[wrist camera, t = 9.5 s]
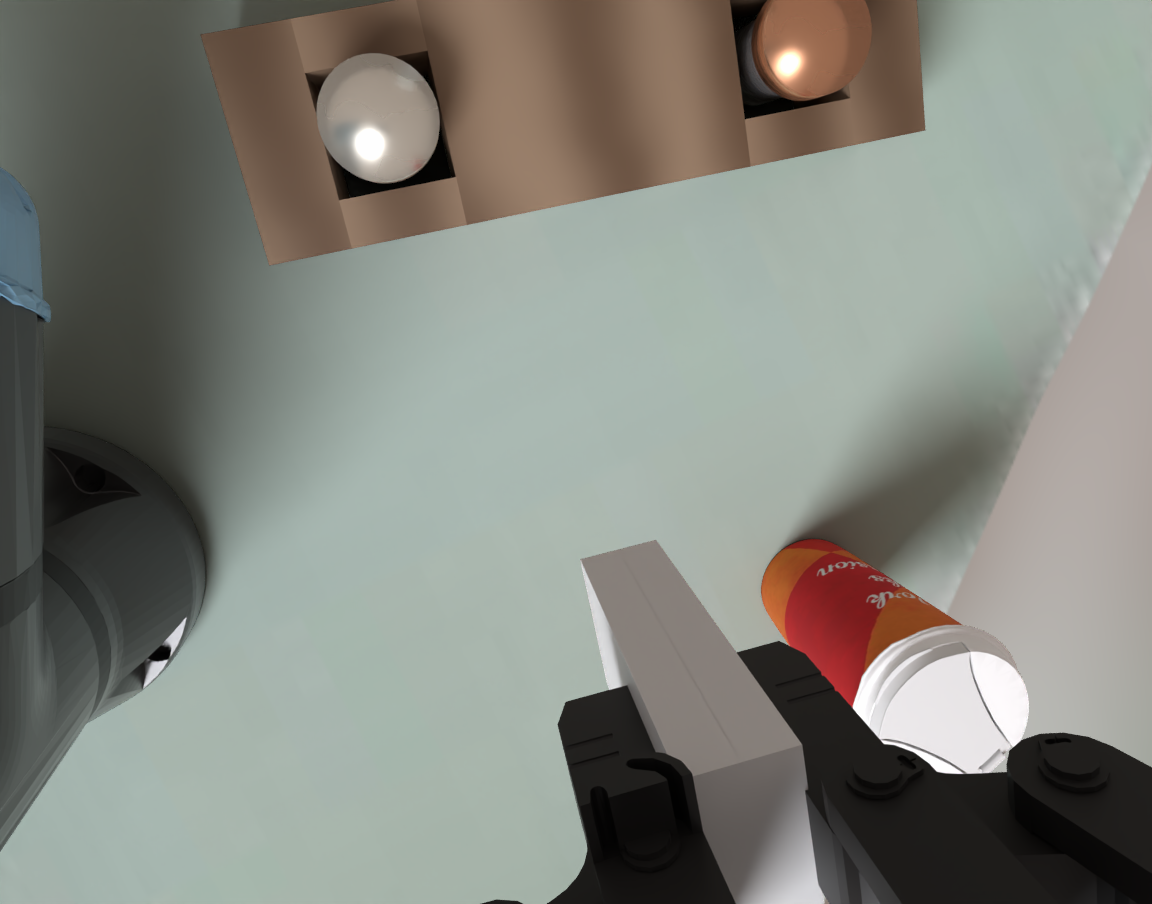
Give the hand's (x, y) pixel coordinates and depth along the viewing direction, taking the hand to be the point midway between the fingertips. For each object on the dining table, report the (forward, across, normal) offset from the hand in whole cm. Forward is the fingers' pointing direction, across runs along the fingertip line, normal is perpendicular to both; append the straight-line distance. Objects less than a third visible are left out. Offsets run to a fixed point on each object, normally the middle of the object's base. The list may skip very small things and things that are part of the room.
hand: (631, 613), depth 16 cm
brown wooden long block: (+29, +6, +12) cm, 32 cm away
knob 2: (+28, +15, +12) cm, 34 cm away
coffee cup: (+30, +15, -17) cm, 37 cm away
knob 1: (+28, -3, +12) cm, 30 cm away
